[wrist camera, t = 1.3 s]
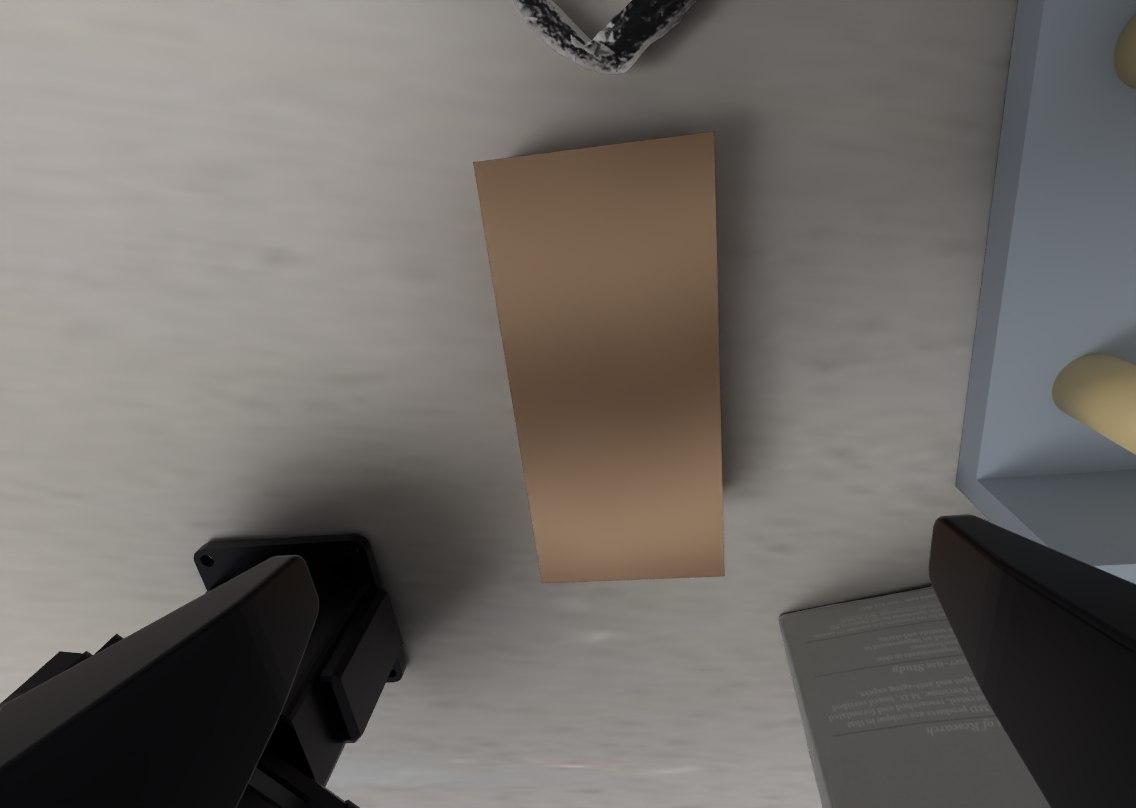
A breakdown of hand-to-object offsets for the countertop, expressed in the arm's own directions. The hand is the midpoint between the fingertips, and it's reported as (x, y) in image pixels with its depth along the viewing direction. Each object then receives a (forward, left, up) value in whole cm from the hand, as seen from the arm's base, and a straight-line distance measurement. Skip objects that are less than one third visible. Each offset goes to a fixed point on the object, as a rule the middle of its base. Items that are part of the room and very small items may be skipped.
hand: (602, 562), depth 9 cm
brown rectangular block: (0, 0, -10) cm, 10 cm away
